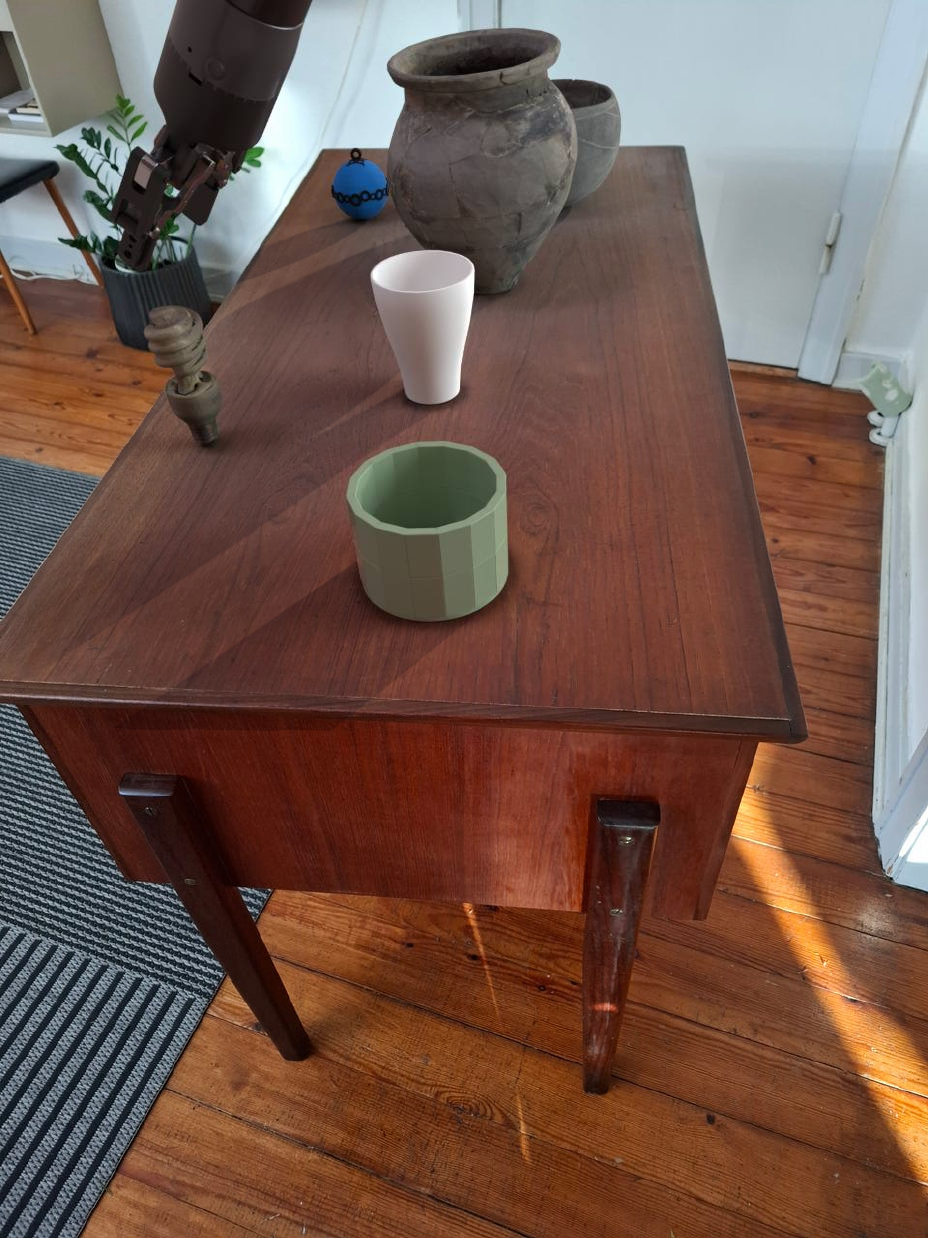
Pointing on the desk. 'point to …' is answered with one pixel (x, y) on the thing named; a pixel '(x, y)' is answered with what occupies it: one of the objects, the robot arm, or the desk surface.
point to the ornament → (360, 187)
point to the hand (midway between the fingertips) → (162, 239)
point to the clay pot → (482, 148)
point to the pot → (430, 529)
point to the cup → (426, 318)
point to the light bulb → (186, 369)
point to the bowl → (591, 133)
